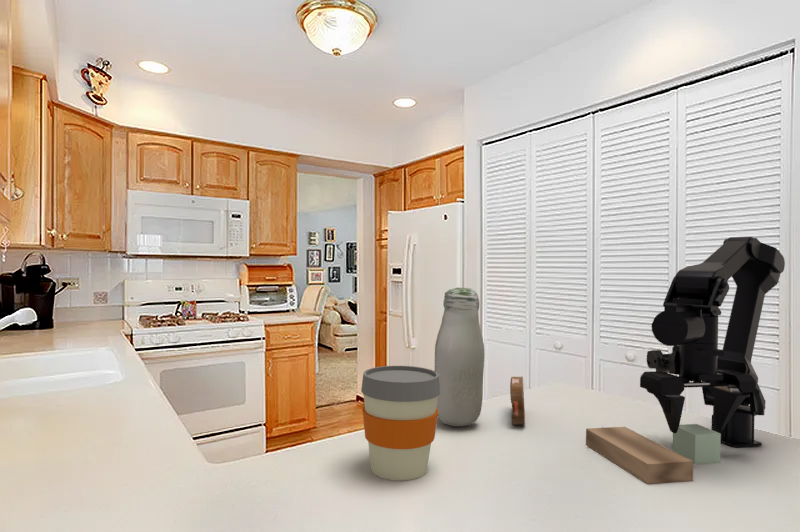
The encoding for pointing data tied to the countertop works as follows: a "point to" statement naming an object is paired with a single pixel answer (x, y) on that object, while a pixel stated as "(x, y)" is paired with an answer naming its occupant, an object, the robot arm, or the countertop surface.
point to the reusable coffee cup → (400, 419)
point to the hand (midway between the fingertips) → (696, 431)
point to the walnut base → (640, 455)
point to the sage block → (697, 443)
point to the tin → (517, 401)
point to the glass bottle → (460, 359)
